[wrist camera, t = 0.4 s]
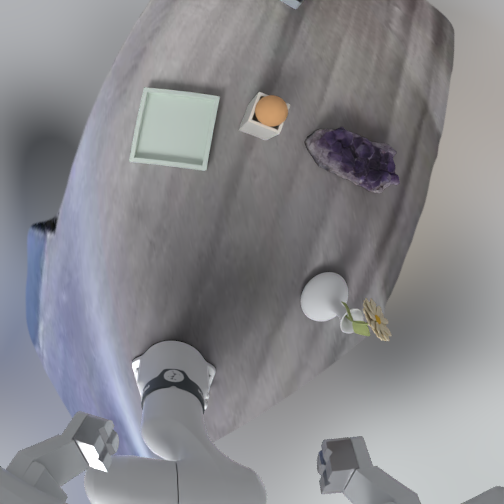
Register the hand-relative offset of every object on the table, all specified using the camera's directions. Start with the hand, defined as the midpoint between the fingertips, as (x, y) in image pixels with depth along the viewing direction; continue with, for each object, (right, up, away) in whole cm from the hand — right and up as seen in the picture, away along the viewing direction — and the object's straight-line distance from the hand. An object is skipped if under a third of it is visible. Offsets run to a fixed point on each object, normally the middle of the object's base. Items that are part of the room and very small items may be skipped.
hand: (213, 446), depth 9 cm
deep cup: (+2, +32, +44) cm, 54 cm away
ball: (+4, +29, +34) cm, 45 cm away
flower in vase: (+16, -1, +55) cm, 57 cm away
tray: (-13, +30, +41) cm, 52 cm away
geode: (+21, +27, +49) cm, 60 cm away
